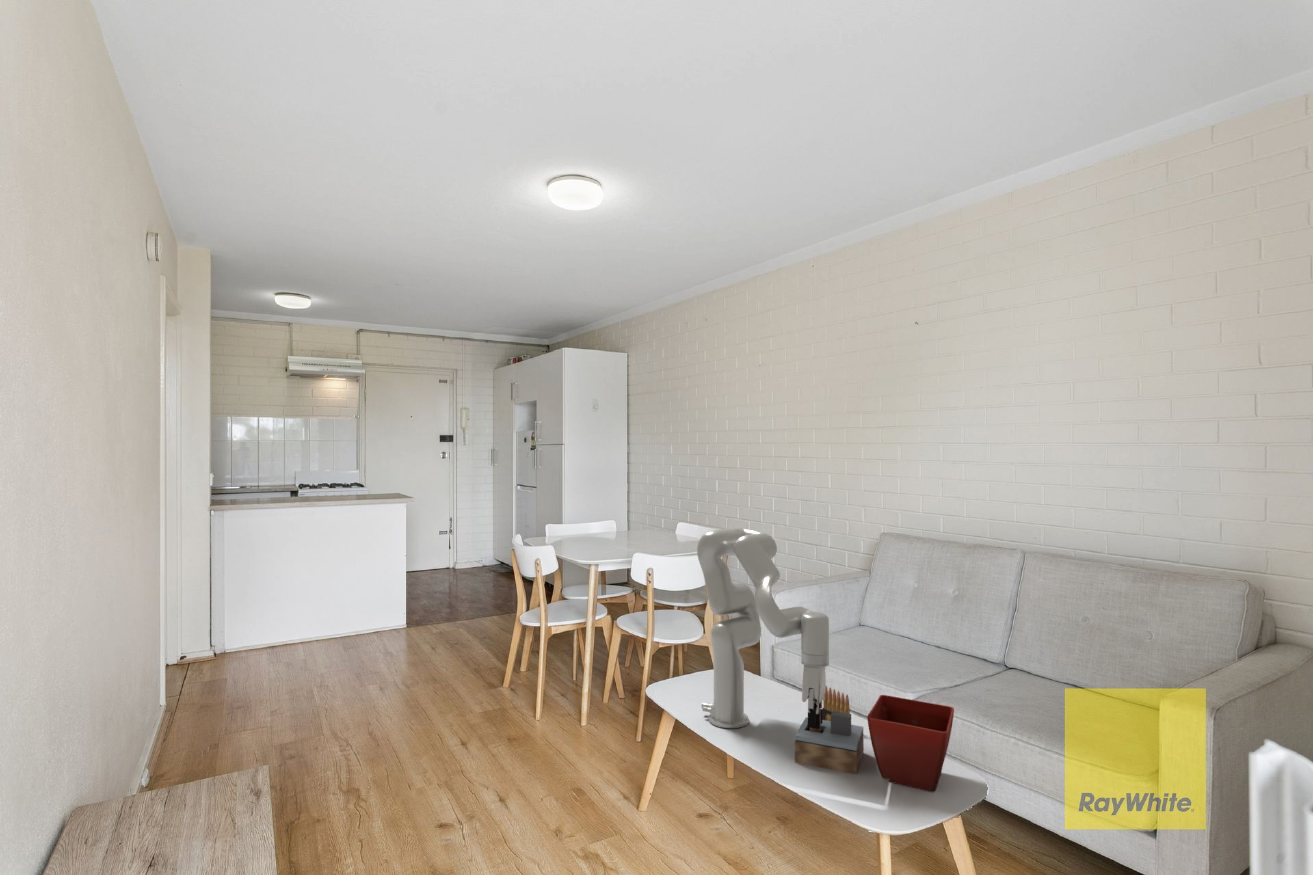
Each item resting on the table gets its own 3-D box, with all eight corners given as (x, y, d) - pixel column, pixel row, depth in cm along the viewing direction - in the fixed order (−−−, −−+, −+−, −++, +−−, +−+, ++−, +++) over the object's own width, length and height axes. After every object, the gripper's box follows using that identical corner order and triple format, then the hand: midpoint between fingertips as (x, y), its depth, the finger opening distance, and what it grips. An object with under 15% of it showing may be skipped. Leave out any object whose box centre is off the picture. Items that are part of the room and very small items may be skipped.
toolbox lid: (795, 739, 179) (795, 716, 179) (805, 721, 192) (805, 699, 192) (856, 750, 172) (856, 726, 173) (863, 730, 185) (863, 708, 185)
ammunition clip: (851, 735, 199) (851, 694, 200) (847, 736, 198) (847, 695, 199) (826, 722, 209) (825, 684, 209) (821, 723, 208) (821, 685, 208)
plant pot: (947, 802, 160) (947, 732, 161) (866, 783, 169) (866, 716, 170) (955, 770, 177) (954, 706, 177) (880, 754, 186) (880, 694, 187)
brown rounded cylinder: (808, 755, 183) (808, 709, 183) (810, 751, 186) (810, 706, 186) (819, 757, 182) (819, 711, 182) (821, 753, 184) (821, 707, 185)
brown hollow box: (795, 765, 179) (795, 740, 179) (805, 745, 192) (805, 722, 192) (856, 778, 172) (856, 751, 172) (863, 756, 185) (863, 732, 185)
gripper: (807, 649, 193) (807, 712, 193) (795, 664, 179) (795, 733, 178) (833, 652, 190) (833, 717, 190) (823, 668, 175) (823, 738, 175)
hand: (815, 724), depth 184 cm, fingers closed on brown rounded cylinder, 3 cm apart
